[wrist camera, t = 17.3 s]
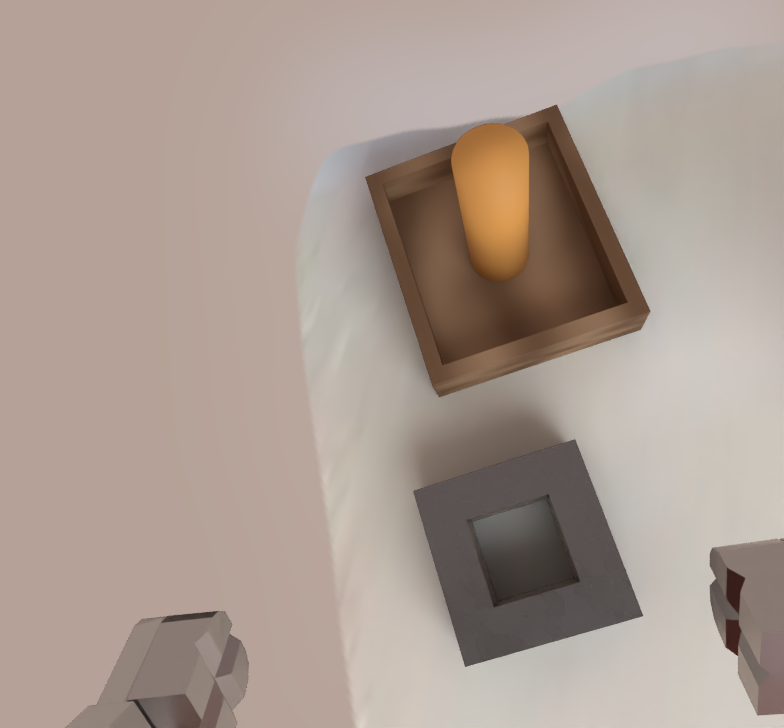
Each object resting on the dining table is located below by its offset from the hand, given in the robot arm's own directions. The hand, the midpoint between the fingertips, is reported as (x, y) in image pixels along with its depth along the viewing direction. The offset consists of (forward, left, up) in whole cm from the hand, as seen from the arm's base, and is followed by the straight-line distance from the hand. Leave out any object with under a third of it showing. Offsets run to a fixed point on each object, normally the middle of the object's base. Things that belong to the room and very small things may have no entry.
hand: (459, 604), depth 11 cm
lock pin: (-6, -19, -30) cm, 37 cm away
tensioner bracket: (-1, 0, -31) cm, 31 cm away
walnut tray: (-6, -19, -31) cm, 37 cm away
